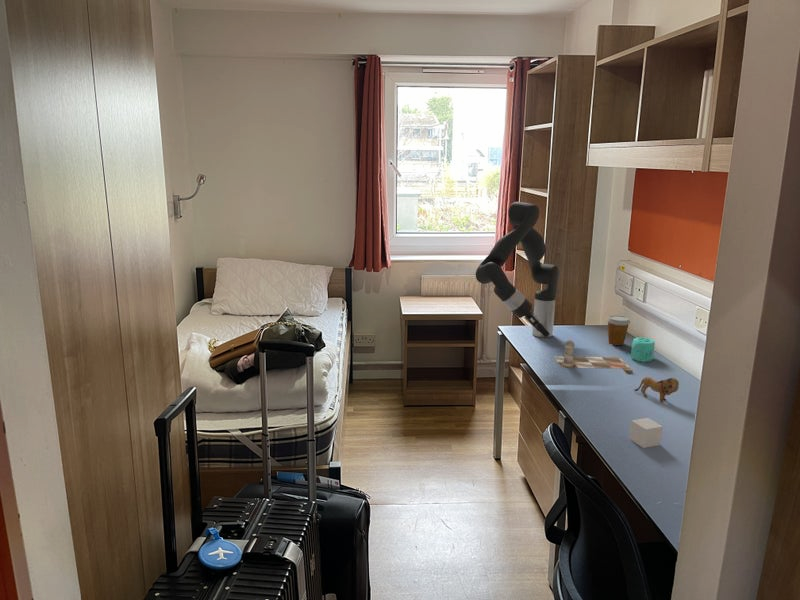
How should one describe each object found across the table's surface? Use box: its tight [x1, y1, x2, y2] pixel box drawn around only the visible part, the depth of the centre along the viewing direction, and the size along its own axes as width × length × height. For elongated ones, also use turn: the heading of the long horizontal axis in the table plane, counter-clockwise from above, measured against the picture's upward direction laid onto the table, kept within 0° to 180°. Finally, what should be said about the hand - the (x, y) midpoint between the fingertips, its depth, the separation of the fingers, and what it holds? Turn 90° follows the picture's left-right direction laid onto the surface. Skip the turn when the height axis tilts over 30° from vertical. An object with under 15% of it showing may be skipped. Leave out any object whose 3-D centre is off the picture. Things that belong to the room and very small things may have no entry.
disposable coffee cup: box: [606, 314, 631, 347], centre depth 259 cm, size 10×10×12 cm
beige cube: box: [629, 417, 663, 449], centre depth 172 cm, size 6×6×6 cm
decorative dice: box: [630, 337, 655, 363], centre depth 241 cm, size 8×8×8 cm
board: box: [553, 355, 633, 374], centre depth 233 cm, size 15×28×1 cm, turn 89°
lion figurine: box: [633, 376, 680, 404], centre depth 202 cm, size 15×5×9 cm, turn 45°
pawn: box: [562, 339, 575, 367], centre depth 229 cm, size 5×5×10 cm
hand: (545, 332), depth 227 cm, fingers open, 8 cm apart
